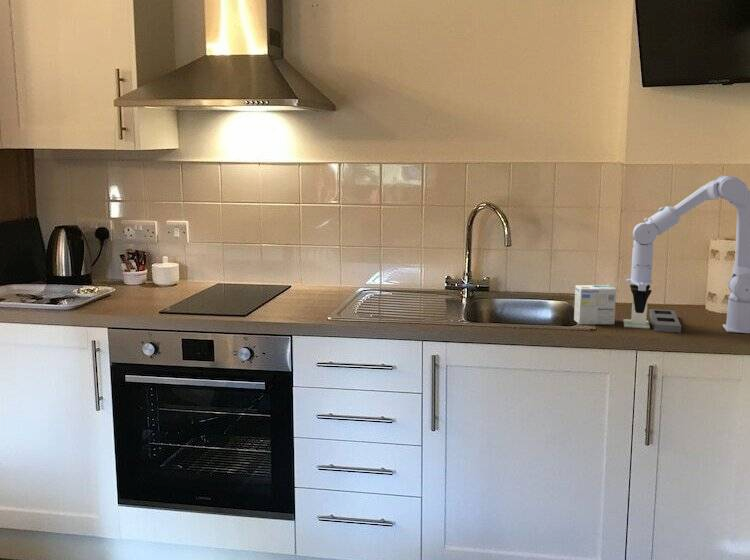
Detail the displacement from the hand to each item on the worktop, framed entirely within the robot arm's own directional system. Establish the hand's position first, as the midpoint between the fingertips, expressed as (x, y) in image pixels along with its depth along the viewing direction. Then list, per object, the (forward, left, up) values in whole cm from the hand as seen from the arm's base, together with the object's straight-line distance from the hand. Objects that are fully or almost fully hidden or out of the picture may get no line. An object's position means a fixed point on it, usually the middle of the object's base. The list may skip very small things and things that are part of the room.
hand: (639, 310), depth 232 cm
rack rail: (-7, -3, -4) cm, 9 cm away
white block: (0, 0, -4) cm, 4 cm away
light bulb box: (+13, 0, -4) cm, 13 cm away
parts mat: (+1, 0, -4) cm, 4 cm away
